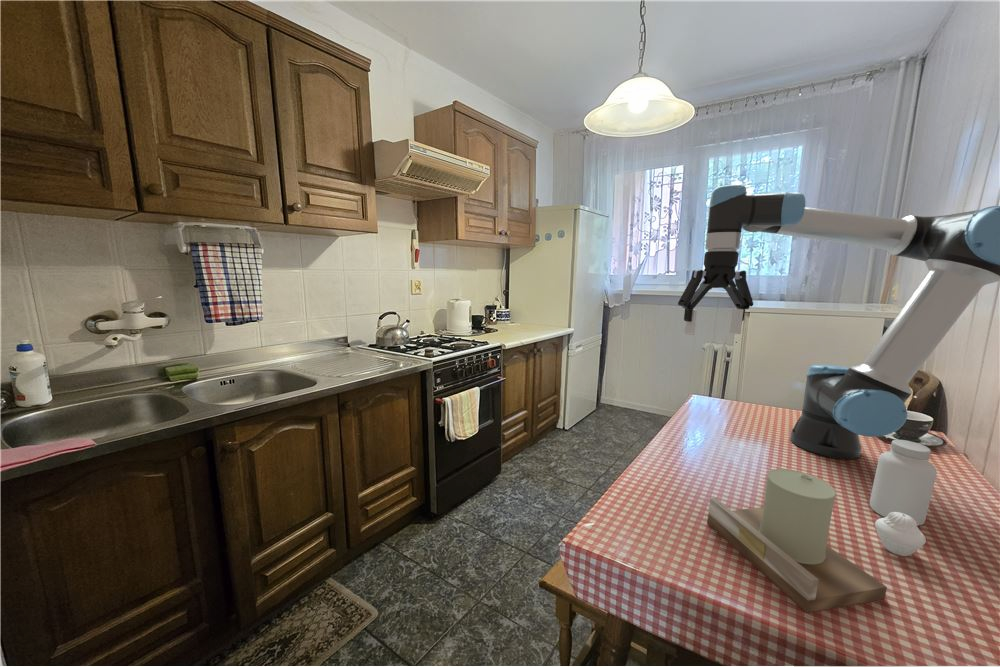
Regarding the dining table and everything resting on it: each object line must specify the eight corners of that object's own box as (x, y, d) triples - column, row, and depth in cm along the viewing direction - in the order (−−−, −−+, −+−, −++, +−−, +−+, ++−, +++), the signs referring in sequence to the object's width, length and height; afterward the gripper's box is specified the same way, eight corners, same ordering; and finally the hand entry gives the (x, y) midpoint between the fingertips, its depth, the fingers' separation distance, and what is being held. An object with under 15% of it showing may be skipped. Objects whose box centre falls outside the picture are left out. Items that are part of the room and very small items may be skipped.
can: (832, 548, 65) (843, 482, 63) (816, 574, 60) (829, 503, 58) (768, 520, 72) (777, 460, 70) (749, 541, 67) (758, 477, 65)
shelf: (769, 515, 77) (772, 491, 76) (884, 598, 58) (890, 567, 57) (706, 522, 74) (709, 498, 74) (804, 613, 55) (810, 581, 54)
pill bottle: (916, 532, 73) (932, 458, 70) (861, 508, 80) (874, 440, 77) (932, 520, 76) (948, 449, 74) (878, 498, 83) (891, 433, 81)
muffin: (925, 554, 67) (933, 517, 66) (916, 568, 64) (924, 530, 63) (877, 533, 72) (884, 499, 71) (866, 545, 69) (873, 509, 68)
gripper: (752, 252, 104) (742, 330, 107) (668, 250, 99) (661, 332, 102) (776, 251, 96) (765, 335, 100) (687, 249, 92) (679, 337, 95)
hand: (712, 333), depth 101 cm, fingers open, 13 cm apart
